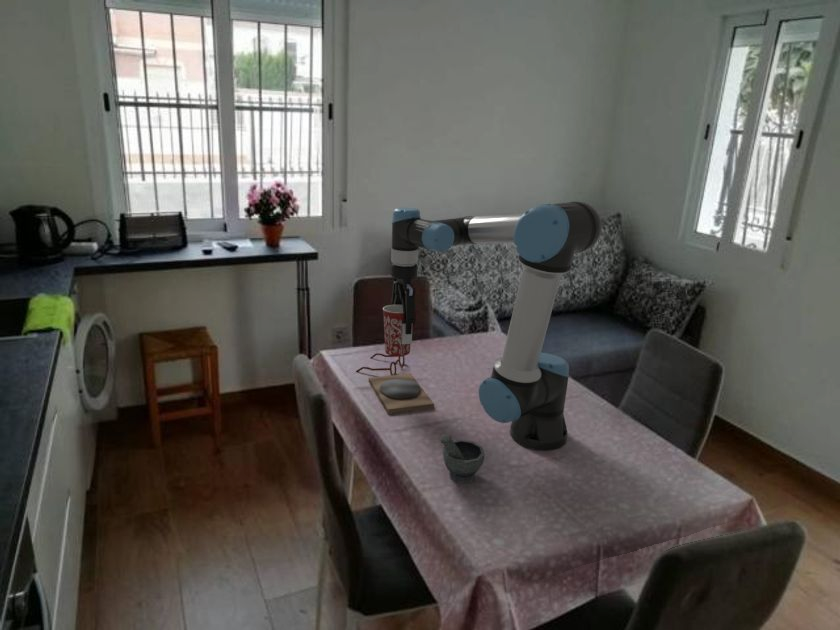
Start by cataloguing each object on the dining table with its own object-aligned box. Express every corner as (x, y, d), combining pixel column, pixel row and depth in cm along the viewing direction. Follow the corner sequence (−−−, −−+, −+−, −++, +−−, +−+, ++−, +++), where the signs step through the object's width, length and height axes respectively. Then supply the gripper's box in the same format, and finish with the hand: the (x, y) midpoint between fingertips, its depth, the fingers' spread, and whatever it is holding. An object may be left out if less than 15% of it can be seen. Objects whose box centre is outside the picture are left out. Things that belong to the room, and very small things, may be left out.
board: (433, 408, 176) (434, 400, 175) (387, 414, 172) (387, 406, 171) (410, 377, 196) (410, 370, 195) (368, 381, 191) (368, 374, 190)
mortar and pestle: (470, 461, 150) (474, 418, 146) (489, 482, 142) (493, 437, 138) (429, 470, 146) (432, 426, 142) (447, 492, 138) (450, 446, 134)
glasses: (392, 379, 195) (392, 365, 193) (354, 373, 198) (355, 359, 197) (405, 364, 207) (405, 351, 205) (369, 358, 210) (370, 345, 209)
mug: (399, 359, 172) (400, 314, 168) (375, 352, 177) (376, 308, 173) (426, 349, 182) (427, 305, 178) (402, 342, 187) (403, 300, 183)
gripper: (430, 272, 162) (426, 350, 169) (405, 254, 181) (403, 324, 189) (403, 273, 160) (400, 352, 167) (381, 254, 179) (379, 326, 186)
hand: (401, 337), depth 178 cm, fingers closed on mug, 9 cm apart
